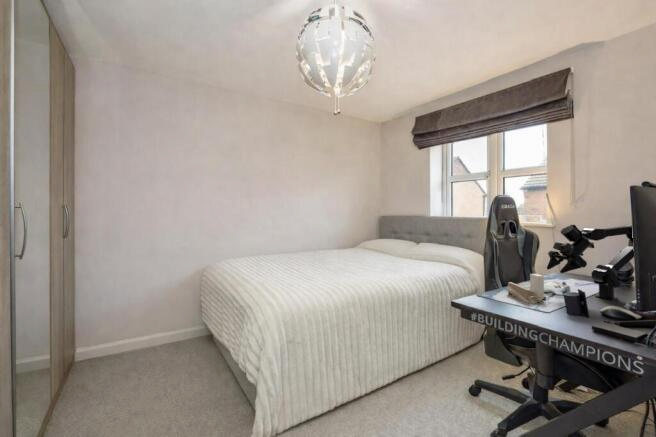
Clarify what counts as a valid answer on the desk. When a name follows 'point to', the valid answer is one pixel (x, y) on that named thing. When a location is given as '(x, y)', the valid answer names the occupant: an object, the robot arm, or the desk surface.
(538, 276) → the cream rectangular block
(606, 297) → the robot arm
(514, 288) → the rack
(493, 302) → the desk surface
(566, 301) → the speaker
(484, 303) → the desk surface
